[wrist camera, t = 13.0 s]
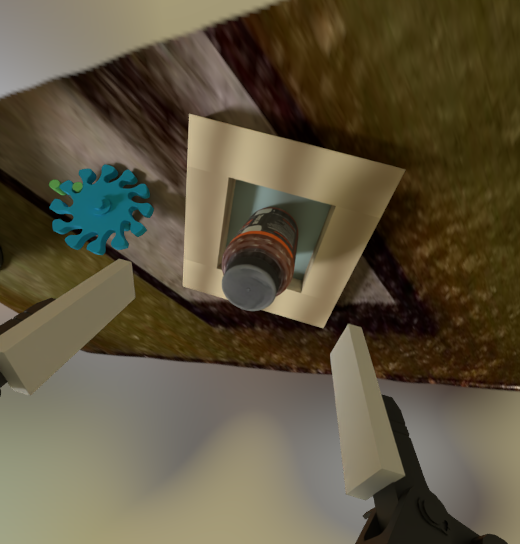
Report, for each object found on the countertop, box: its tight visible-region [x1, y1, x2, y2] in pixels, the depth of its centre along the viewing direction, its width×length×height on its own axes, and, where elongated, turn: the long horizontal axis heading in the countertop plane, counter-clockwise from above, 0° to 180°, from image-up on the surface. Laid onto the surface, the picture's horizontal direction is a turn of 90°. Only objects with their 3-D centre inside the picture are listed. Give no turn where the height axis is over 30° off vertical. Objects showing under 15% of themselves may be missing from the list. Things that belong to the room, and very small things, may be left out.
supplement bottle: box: [222, 207, 298, 311], centre depth 20 cm, size 6×6×11 cm
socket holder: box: [183, 114, 405, 328], centre depth 24 cm, size 18×18×3 cm
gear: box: [49, 165, 154, 255], centre depth 26 cm, size 11×6×10 cm
